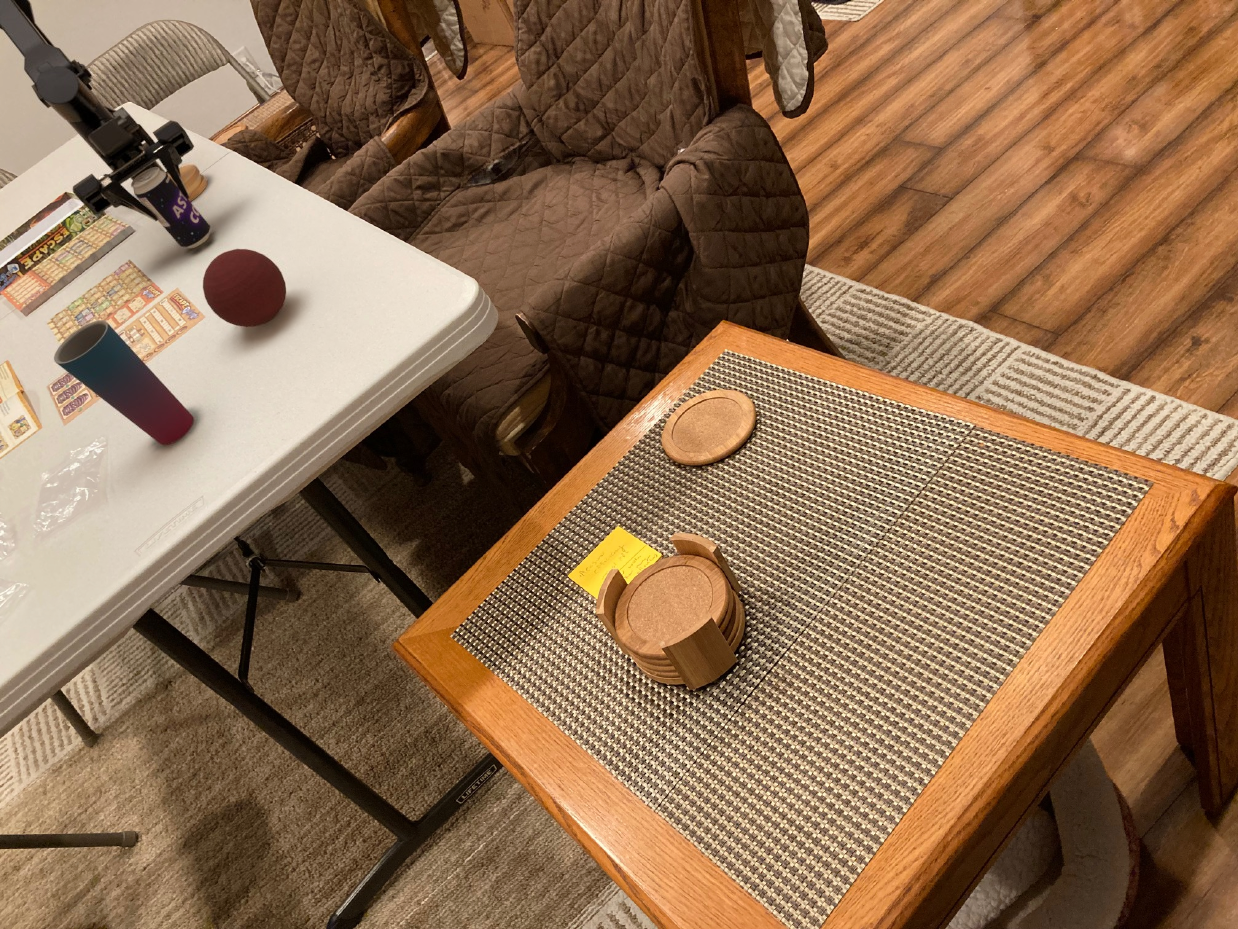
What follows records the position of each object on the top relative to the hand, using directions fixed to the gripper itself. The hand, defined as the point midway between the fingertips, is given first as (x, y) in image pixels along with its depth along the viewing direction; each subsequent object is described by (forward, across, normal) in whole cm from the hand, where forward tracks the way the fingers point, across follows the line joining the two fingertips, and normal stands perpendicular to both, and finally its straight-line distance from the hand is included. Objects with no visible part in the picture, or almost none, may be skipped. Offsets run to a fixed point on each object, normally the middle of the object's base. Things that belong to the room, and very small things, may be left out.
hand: (172, 208), depth 135 cm
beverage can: (+4, 0, +6) cm, 7 cm away
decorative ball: (+29, -1, -19) cm, 35 cm away
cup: (+36, -19, -26) cm, 48 cm away
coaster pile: (-13, +4, +24) cm, 27 cm away
